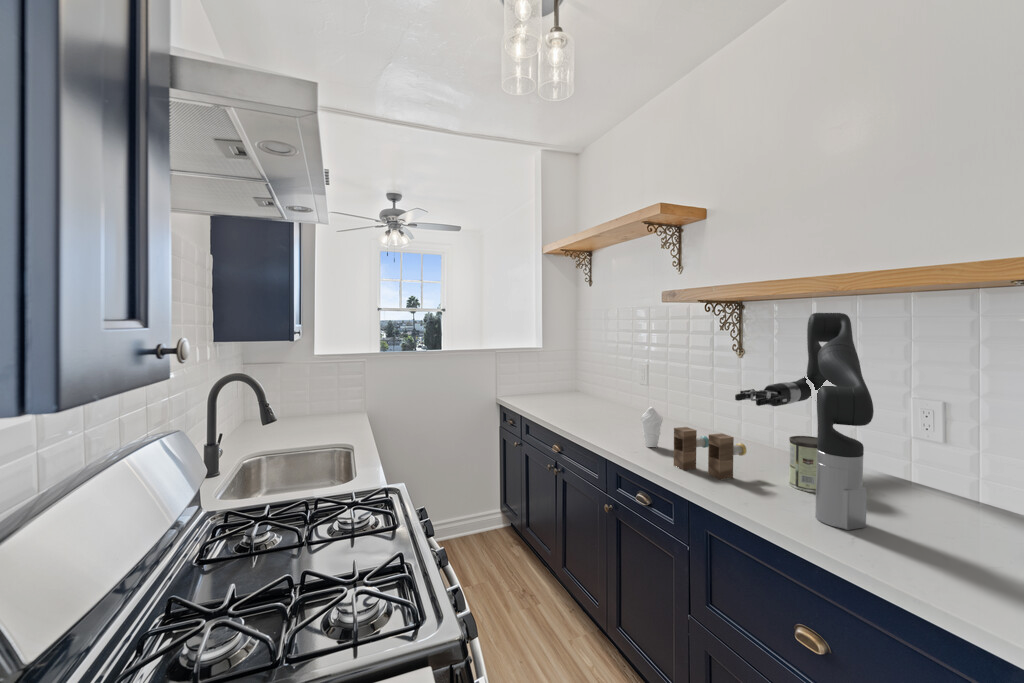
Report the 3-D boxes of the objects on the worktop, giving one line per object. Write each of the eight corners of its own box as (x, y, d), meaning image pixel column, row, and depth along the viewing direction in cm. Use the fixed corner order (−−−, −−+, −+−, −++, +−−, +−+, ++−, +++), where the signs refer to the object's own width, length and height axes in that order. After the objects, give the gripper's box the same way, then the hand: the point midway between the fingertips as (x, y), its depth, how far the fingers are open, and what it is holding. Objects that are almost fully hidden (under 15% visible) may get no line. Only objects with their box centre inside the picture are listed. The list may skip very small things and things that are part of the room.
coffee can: (819, 481, 138) (820, 436, 137) (836, 494, 128) (838, 445, 127) (782, 479, 140) (783, 434, 139) (796, 491, 130) (797, 443, 129)
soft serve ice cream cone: (644, 442, 183) (645, 403, 183) (665, 445, 178) (665, 405, 178) (637, 447, 177) (637, 406, 176) (658, 450, 172) (659, 409, 171)
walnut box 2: (733, 478, 142) (733, 437, 141) (719, 479, 140) (720, 438, 140) (721, 472, 147) (721, 433, 146) (708, 474, 145) (708, 434, 145)
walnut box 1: (696, 468, 151) (696, 430, 150) (683, 470, 149) (683, 431, 149) (686, 464, 156) (686, 426, 155) (673, 465, 154) (673, 427, 154)
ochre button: (746, 456, 144) (746, 444, 143) (728, 458, 142) (728, 446, 141) (737, 453, 147) (737, 441, 147) (719, 455, 145) (719, 443, 145)
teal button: (709, 448, 153) (709, 437, 153) (691, 450, 151) (691, 439, 151) (701, 445, 156) (701, 434, 156) (684, 447, 154) (684, 436, 154)
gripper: (764, 380, 163) (729, 385, 158) (801, 386, 150) (764, 392, 145) (764, 400, 164) (729, 406, 159) (801, 408, 151) (764, 415, 145)
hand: (746, 400), depth 152 cm, fingers open, 8 cm apart
